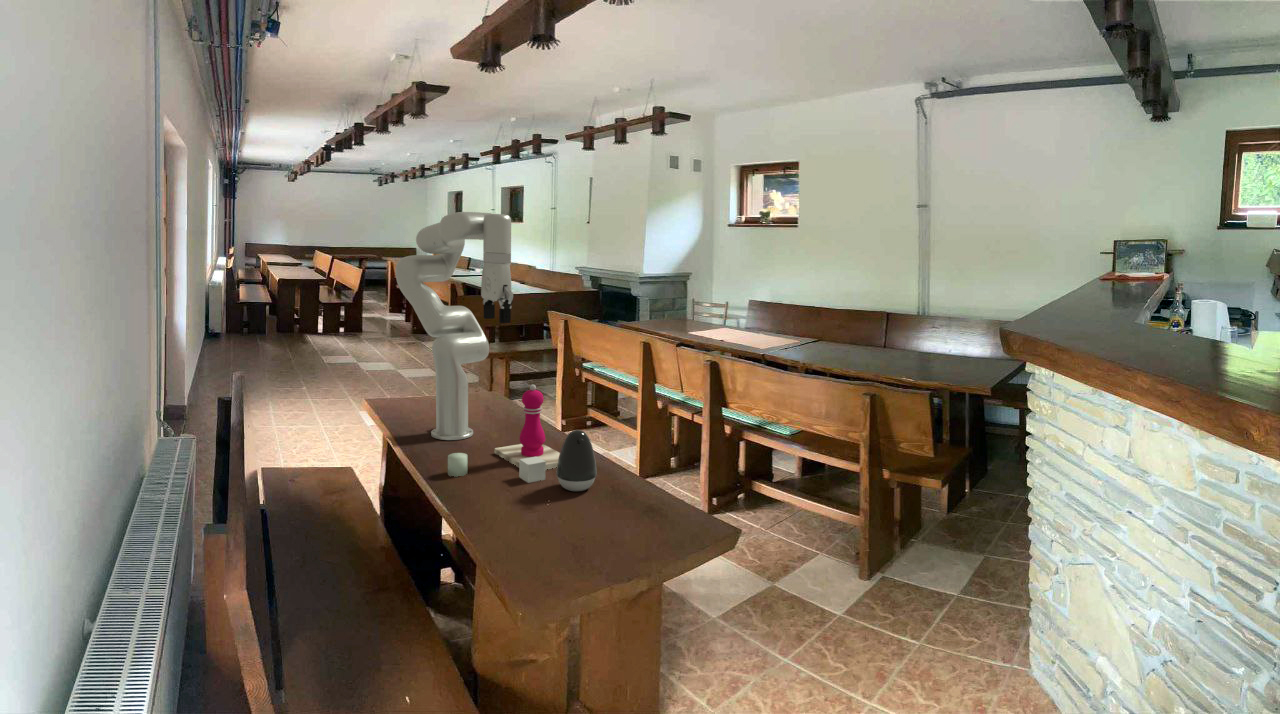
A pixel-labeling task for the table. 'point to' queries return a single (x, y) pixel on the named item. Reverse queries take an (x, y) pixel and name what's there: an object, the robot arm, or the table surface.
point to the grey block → (532, 469)
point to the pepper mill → (532, 424)
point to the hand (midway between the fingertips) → (496, 320)
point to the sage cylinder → (457, 464)
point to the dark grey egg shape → (576, 462)
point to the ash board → (515, 454)
